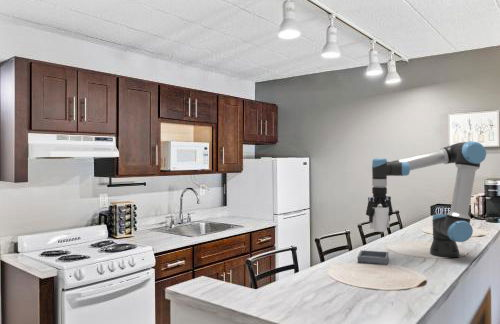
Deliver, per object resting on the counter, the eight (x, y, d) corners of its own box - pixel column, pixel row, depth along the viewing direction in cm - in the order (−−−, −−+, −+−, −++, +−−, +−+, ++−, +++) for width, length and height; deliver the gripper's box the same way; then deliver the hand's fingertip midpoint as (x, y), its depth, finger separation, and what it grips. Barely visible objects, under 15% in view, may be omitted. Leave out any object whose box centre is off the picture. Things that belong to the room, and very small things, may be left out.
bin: (388, 258, 216) (388, 252, 216) (387, 265, 202) (387, 258, 202) (360, 256, 221) (360, 250, 221) (357, 263, 207) (357, 256, 207)
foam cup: (390, 232, 205) (390, 208, 204) (372, 232, 206) (371, 207, 206) (387, 229, 214) (387, 206, 214) (369, 228, 216) (369, 205, 216)
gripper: (390, 185, 218) (390, 225, 218) (358, 186, 209) (358, 228, 209) (400, 186, 211) (400, 227, 211) (367, 187, 202) (368, 230, 202)
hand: (379, 227), depth 210 cm, fingers closed on foam cup, 9 cm apart
